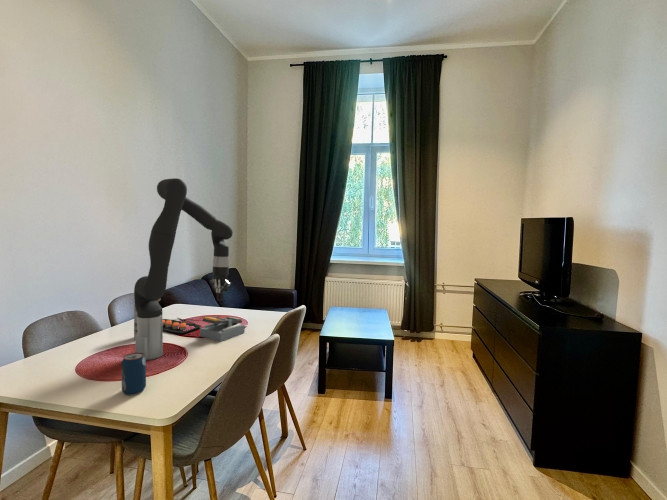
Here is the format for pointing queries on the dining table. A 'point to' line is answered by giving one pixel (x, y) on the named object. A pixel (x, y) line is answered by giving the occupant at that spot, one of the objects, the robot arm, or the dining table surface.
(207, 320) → the breaker rocker
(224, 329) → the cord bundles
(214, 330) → the switch box
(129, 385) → the soda can
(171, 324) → the sushi plate
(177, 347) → the dining table surface
